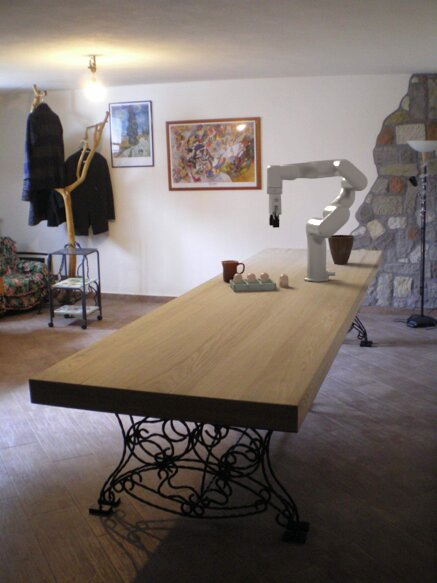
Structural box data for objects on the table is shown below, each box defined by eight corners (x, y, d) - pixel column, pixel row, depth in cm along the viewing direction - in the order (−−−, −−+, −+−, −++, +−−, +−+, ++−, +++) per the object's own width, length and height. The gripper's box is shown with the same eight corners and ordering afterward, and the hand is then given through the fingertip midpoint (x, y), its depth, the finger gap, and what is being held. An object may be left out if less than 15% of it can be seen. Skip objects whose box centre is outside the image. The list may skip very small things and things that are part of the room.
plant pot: (322, 262, 387) (322, 235, 383) (343, 260, 393) (344, 234, 390) (337, 266, 373) (337, 238, 370) (358, 264, 380) (359, 236, 376)
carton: (270, 284, 327) (270, 270, 326) (276, 289, 314) (275, 275, 312) (229, 286, 325) (229, 272, 323) (234, 291, 311) (233, 277, 310)
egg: (287, 285, 323) (287, 273, 322) (289, 287, 319) (289, 274, 318) (278, 286, 323) (278, 273, 322) (280, 287, 319) (280, 275, 317)
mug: (220, 283, 333) (220, 263, 331) (222, 279, 342) (222, 260, 340) (244, 283, 332) (244, 262, 330) (245, 279, 340) (245, 260, 338)
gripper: (285, 192, 311) (285, 228, 314) (279, 190, 328) (278, 224, 331) (269, 192, 310) (269, 228, 314) (264, 190, 327) (263, 224, 331)
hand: (274, 226), depth 322 cm, fingers open, 9 cm apart
